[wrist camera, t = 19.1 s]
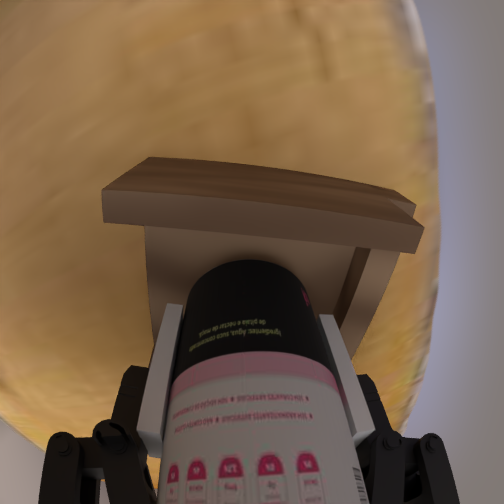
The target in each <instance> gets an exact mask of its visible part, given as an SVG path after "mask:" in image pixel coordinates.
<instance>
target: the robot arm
mask: <svg viewBox="0 0 504 504" xmlns="http://www.w3.org/2000/svg"><path fill="white" fill-rule="evenodd" d="M182 323H183V305H179V304H170V303H167V306H166V309H165V313H164V316H163V320H162V323H161V327H160V331H159V334H158V338H157V342H156V346H155V350H154V354H153V358H152V362H151V366H150V368H145V367H139V366H133V365H131V366H130V367H129V368H128V370H127V371H126V372H125V373H124V375H123V378H122V381H121V386H120V388H119V391H118V395H117V398H116V402H115V406H114V409H113V413H112V417H111V419H107V420H103V421H101V422H99V423H98V424H97V425H96V426H95V428H94V429H93V434H92V437H84V438H75V437H74V436H73V435H72V434H69V433H67V432H58V433H55V434H53V435H52V436H51V437H50V439H49V441H48V445H47V450H46V455H45V461H44V465H43V471H42V478H41V485H40V493H39V501H38V504H99V497H100V496H99V495H100V482H101V479H105V483H106V488H107V493H108V497H109V502H110V504H157V497H156V494H155V490H154V487H153V484H152V480H151V476H150V473H149V469H148V465H147V463H146V461H147V454H148V455H149V457H155V458H161V454H162V446H163V438H164V431H165V423H166V416H167V410H168V403H169V396H170V390H171V384H172V378H173V372H174V366H175V360H176V355H177V349H178V344H179V338H180V333H181V328H182ZM317 324H318V327H319V330H320V333H321V336H322V339H323V342H324V345H325V349H326V352H327V355H328V358H329V361H330V364H331V368H332V371H333V374H334V377H335V381H336V384H337V387H338V390H339V394H340V397H341V400H342V404H343V407H344V411H345V414H346V417H347V421H348V424H349V428H350V432H351V435H352V439H353V442H354V446H355V450H356V453H357V457H358V461H359V465H360V468H361V472H362V476H363V480H364V484H365V488H366V492H367V496H368V500H369V504H460V502H459V498H458V494H457V489H456V486H455V481H454V478H453V474H452V470H451V467H450V463H449V460H448V456H447V453H446V450H445V447H444V444H443V441H442V439H441V438H440V437H439V436H438V435H436V434H434V433H428V434H426V435H424V436H423V437H422V438H421V439H417V438H405V437H402V436H401V434H399V433H398V432H396V431H393V429H392V428H391V426H390V423H389V420H388V417H387V415H386V412H385V409H384V407H383V404H382V402H381V401H380V396H379V394H378V393H377V392H378V391H377V389H376V386H375V384H374V382H373V381H372V380H371V378H370V377H369V376H368V375H367V374H363V375H356V373H355V370H354V367H353V365H352V362H351V359H350V357H349V354H348V352H347V349H346V346H345V344H344V341H343V339H342V336H341V334H340V331H339V329H338V326H337V324H336V321H335V319H334V316H333V315H323V314H319V316H318V319H317Z"/></svg>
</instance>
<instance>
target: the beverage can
mask: <svg viewBox="0 0 504 504" xmlns="http://www.w3.org/2000/svg"><path fill="white" fill-rule="evenodd" d="M157 504H369V500H368V496H367V492H366V488H365V484H364V480H363V476H362V472H361V468H360V465H359V461H358V457H357V453H356V450H355V446H354V442H353V439H352V435H351V432H350V428H349V424H348V421H347V417H346V414H345V411H344V407H343V404H342V400H341V397H340V394H339V390H338V387H337V384H336V381H335V377H334V374H333V371H332V368H331V364H330V361H329V358H328V355H327V352H326V349H325V345H324V342H323V339H322V336H321V333H320V330H319V327H318V324H317V321H316V318H315V315H314V312H313V309H312V306H311V303H310V300H309V297H308V294H307V291H306V289H305V287H304V285H303V284H302V282H301V281H300V280H299V279H298V278H297V277H296V276H295V275H294V274H293V273H292V272H290V271H289V270H287V269H286V268H284V267H282V266H280V265H278V264H275V263H272V262H268V261H264V260H256V259H243V260H235V261H230V262H227V263H224V264H221V265H219V266H216V267H214V268H213V269H211V270H209V271H208V272H206V273H205V274H204V275H202V276H201V277H200V278H199V279H198V280H197V281H196V283H195V284H194V285H193V287H192V289H191V291H190V293H189V295H188V299H187V303H186V308H185V313H184V318H183V323H182V328H181V333H180V338H179V344H178V349H177V355H176V360H175V366H174V372H173V378H172V384H171V390H170V396H169V403H168V410H167V416H166V423H165V431H164V438H163V446H162V454H161V463H160V472H159V482H158V492H157Z"/></svg>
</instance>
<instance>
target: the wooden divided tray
mask: <svg viewBox="0 0 504 504" xmlns="http://www.w3.org/2000/svg"><path fill="white" fill-rule="evenodd" d="M415 208H416V204H414V203H413V202H411V201H410V200H408V199H407V198H405V197H404V196H402V195H401V194H399V193H398V192H396V191H395V190H391V189H386V188H382V187H378V186H373V185H368V184H364V183H359V182H354V181H349V180H344V179H339V178H333V177H328V176H322V175H316V174H310V173H304V172H298V171H291V170H284V169H277V168H270V167H262V166H254V165H246V164H237V163H227V162H217V161H206V160H193V159H178V158H160V157H149V158H147V159H146V160H144V161H143V162H141V163H139V164H138V165H136V166H135V167H133V168H132V169H130V170H129V171H128V172H126V173H125V174H123V175H122V176H120V177H119V178H117V179H116V180H115V181H113V182H112V183H110V184H109V185H108V186H106V187H105V188H103V189H102V209H103V222H104V223H116V224H129V225H141V226H145V250H146V268H147V282H148V294H149V304H150V314H151V323H152V331H153V339H154V347H153V351H152V355H151V359H150V363H149V367H148V368H150V366H151V362H152V358H153V354H154V350H155V346H156V342H157V338H158V334H159V331H160V327H161V323H162V320H163V316H164V313H165V309H166V306H167V303H170V304H179V305H183V318H184V313H185V308H186V303H187V299H188V295H189V293H190V291H191V289H192V287H193V285H194V284H195V283H196V281H197V280H198V279H199V278H200V277H201V276H202V275H204V274H205V273H206V272H208V271H209V270H211V269H213V268H214V267H216V266H219V265H221V264H224V263H227V262H230V261H235V260H243V259H256V260H264V261H268V262H272V263H275V264H278V265H280V266H282V267H284V268H286V269H287V270H289V271H290V272H292V273H293V274H294V275H295V276H296V277H297V278H298V279H299V280H300V281H301V282H302V284H303V285H304V287H305V289H306V291H307V294H308V297H309V300H310V303H311V306H312V309H313V312H314V315H315V318H316V321H317V319H318V316H319V314H323V315H333V316H334V319H335V321H336V324H337V326H338V329H339V331H340V334H341V336H342V339H343V341H344V344H345V346H346V349H347V352H348V354H349V357H350V359H352V358H353V356H354V354H355V352H356V350H357V348H358V346H359V344H360V342H361V340H362V338H363V336H364V334H365V332H366V330H367V328H368V326H369V324H370V322H371V320H372V318H373V316H374V314H375V312H376V310H377V307H378V305H379V303H380V301H381V299H382V296H383V294H384V292H385V289H386V287H387V285H388V282H389V280H390V277H391V275H392V273H393V270H394V268H395V265H396V262H397V260H398V257H399V255H400V252H403V253H411V254H415V252H416V249H417V247H418V244H419V242H420V239H421V236H422V233H423V230H424V227H423V226H422V225H421V224H420V223H418V222H417V221H416V220H415V219H413V215H414V211H415Z"/></svg>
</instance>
